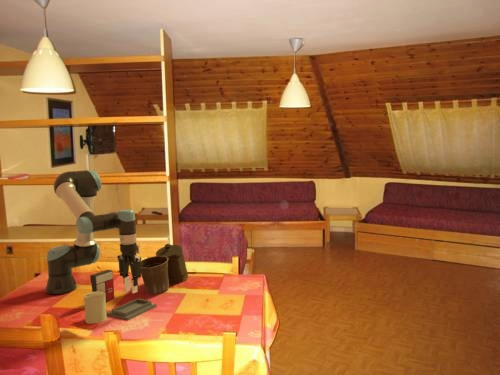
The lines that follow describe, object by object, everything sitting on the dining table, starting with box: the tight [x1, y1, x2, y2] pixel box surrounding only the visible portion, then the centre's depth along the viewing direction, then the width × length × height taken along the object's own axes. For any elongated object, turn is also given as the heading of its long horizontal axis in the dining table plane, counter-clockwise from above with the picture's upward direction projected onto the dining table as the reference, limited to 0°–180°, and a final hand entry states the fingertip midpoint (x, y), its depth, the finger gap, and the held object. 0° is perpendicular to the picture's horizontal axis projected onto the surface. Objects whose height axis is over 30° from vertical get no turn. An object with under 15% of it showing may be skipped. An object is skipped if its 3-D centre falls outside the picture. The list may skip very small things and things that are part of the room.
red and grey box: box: [89, 269, 115, 303], centre depth 209 cm, size 11×4×15 cm, turn 149°
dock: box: [106, 298, 157, 321], centre depth 196 cm, size 14×18×2 cm
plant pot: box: [140, 255, 170, 295], centre depth 221 cm, size 16×16×16 cm
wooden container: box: [155, 243, 189, 285], centre depth 234 cm, size 15×15×22 cm
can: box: [83, 291, 108, 325], centre depth 186 cm, size 9×9×12 cm
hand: (131, 291), depth 195 cm, fingers open, 4 cm apart
